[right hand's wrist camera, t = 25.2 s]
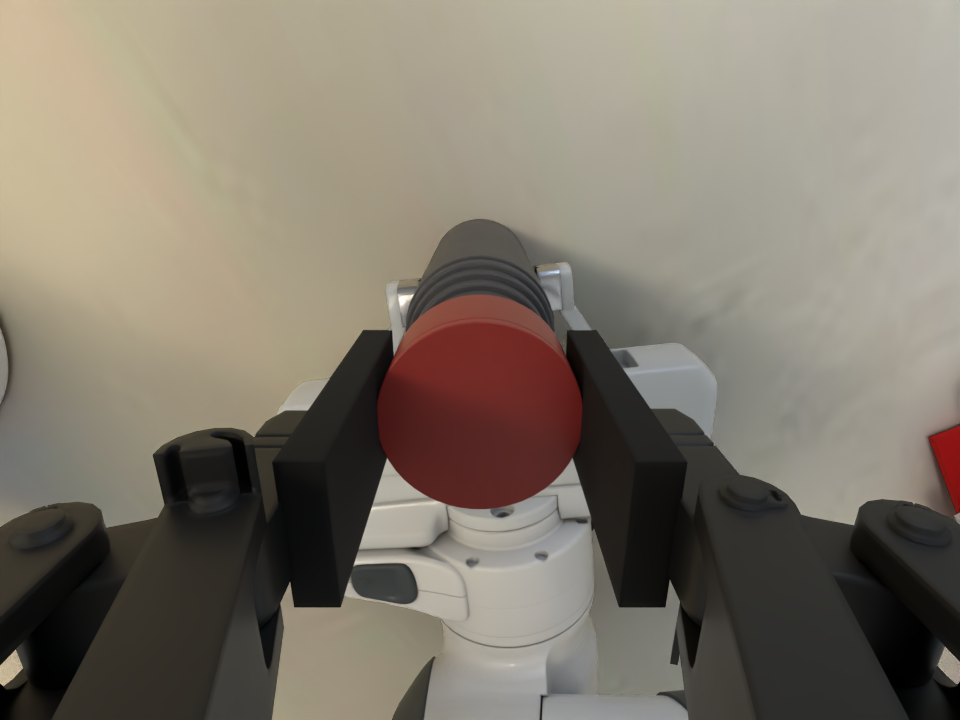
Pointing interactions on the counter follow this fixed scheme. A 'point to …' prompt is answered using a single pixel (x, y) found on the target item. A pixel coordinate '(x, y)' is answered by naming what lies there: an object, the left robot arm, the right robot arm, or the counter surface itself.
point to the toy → (949, 462)
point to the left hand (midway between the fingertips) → (476, 273)
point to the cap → (479, 404)
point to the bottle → (479, 271)
